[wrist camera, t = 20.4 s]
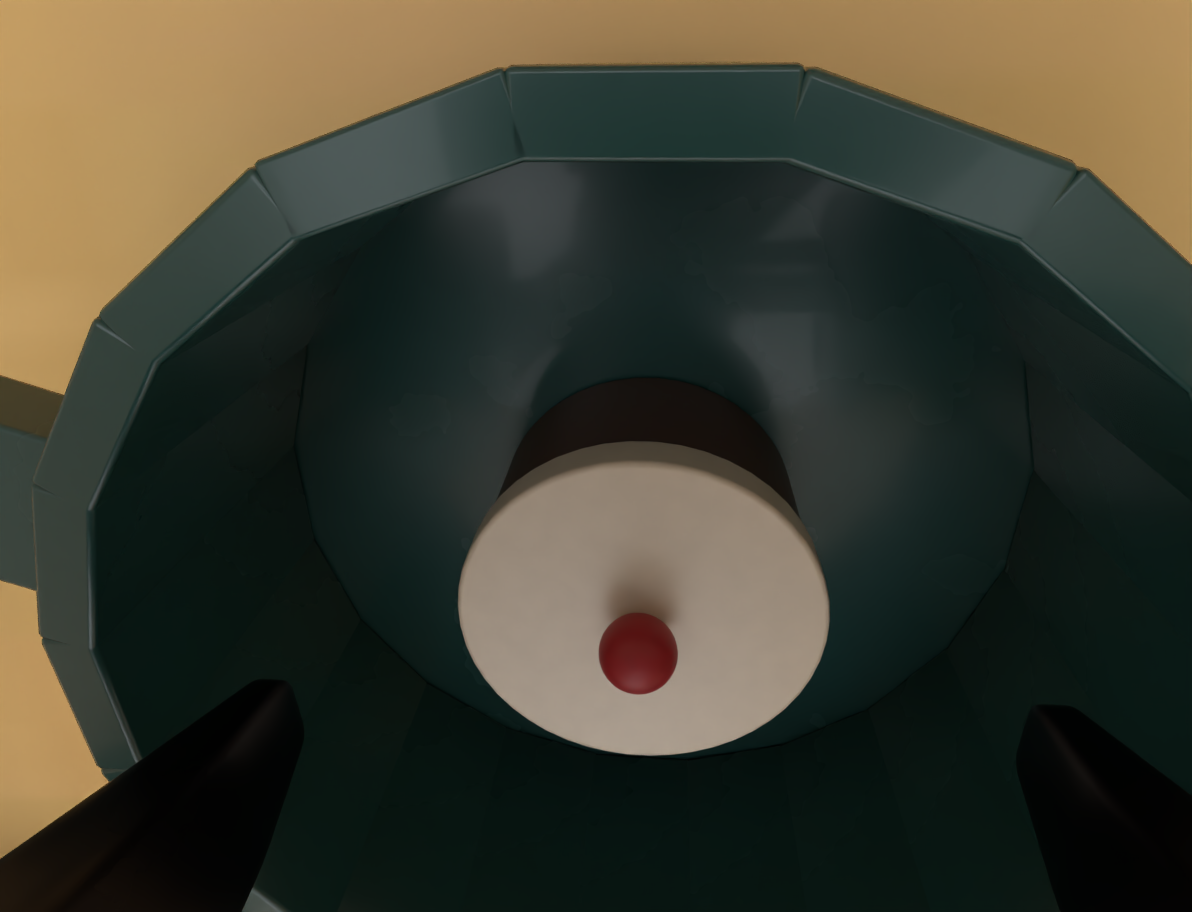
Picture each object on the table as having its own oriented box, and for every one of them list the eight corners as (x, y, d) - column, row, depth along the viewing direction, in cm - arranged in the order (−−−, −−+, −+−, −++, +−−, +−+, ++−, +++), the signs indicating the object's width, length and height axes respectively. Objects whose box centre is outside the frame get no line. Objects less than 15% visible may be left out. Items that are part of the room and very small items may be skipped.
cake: (728, 654, 15) (747, 856, 11) (472, 576, 15) (402, 757, 11) (849, 428, 13) (927, 588, 9) (544, 327, 12) (488, 448, 9)
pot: (937, 861, 18) (1043, 1181, 13) (122, 621, 17) (-122, 871, 12) (1419, 308, 12) (2039, 514, 6) (133, -159, 10) (-428, -389, 5)
